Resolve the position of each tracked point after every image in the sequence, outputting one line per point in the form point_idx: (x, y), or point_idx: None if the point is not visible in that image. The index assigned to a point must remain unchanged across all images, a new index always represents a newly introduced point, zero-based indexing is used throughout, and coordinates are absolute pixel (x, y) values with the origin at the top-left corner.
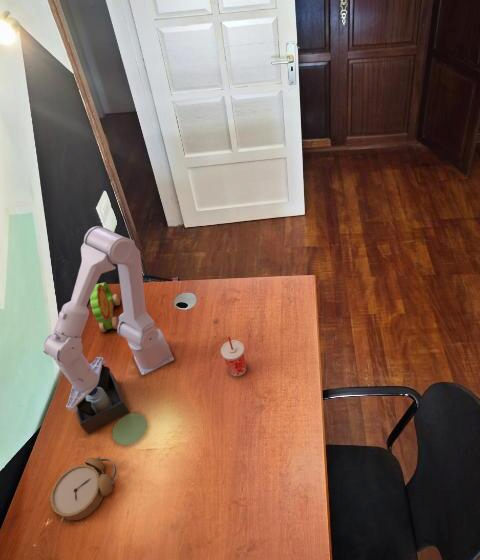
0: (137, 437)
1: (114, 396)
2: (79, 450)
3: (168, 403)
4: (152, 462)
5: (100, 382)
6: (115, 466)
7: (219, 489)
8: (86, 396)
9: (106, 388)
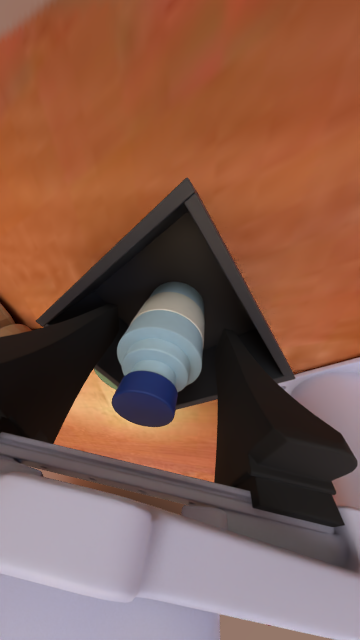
0: (114, 386)
1: (212, 330)
2: (43, 275)
3: (191, 414)
4: (87, 400)
5: (228, 371)
6: None
7: (87, 444)
8: (144, 330)
9: (217, 352)
